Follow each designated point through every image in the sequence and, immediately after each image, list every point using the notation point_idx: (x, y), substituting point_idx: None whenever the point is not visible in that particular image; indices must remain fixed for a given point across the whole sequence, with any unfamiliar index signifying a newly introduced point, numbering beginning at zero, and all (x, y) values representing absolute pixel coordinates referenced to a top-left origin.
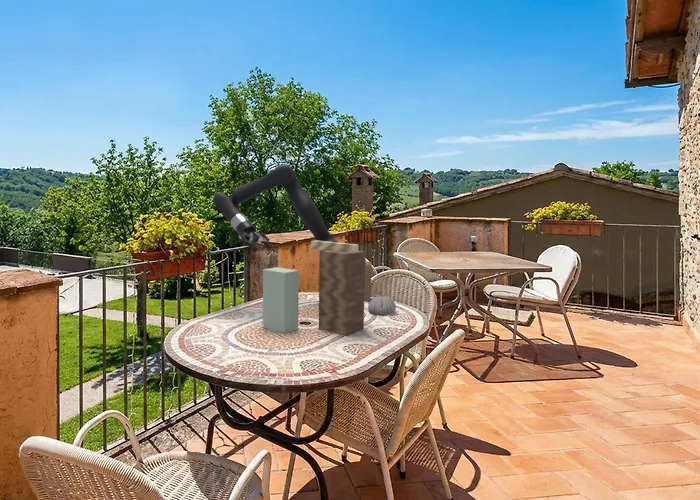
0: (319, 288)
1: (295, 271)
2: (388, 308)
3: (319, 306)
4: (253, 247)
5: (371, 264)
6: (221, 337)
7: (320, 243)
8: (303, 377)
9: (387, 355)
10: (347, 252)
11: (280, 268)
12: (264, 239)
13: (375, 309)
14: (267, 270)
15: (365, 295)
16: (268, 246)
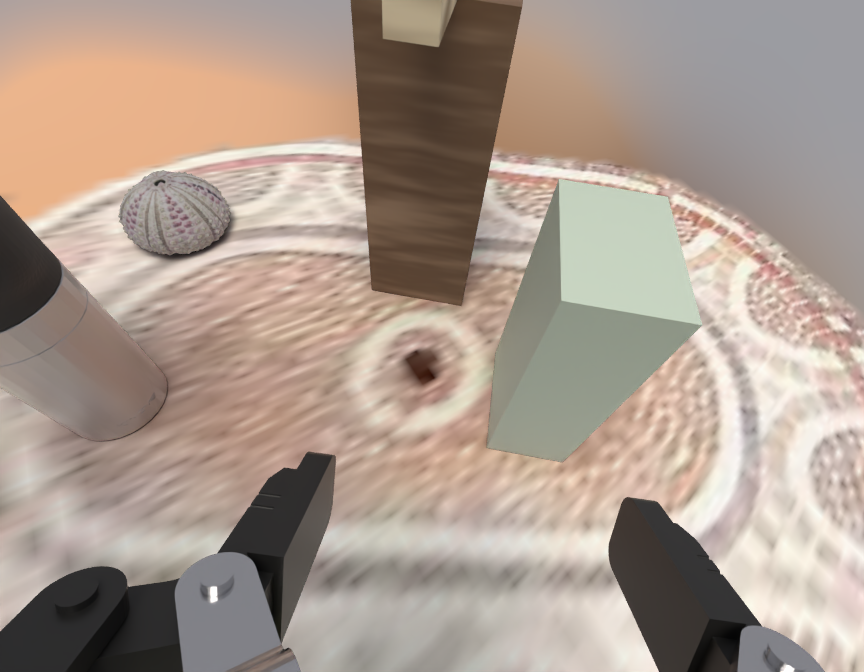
0: (483, 195)
1: (583, 185)
2: (217, 189)
3: (472, 250)
4: (699, 553)
5: None
6: (751, 520)
7: None
8: (720, 219)
9: (530, 157)
10: None
11: (583, 265)
12: (227, 629)
13: (223, 219)
14: (692, 293)
15: None
16: (320, 495)
